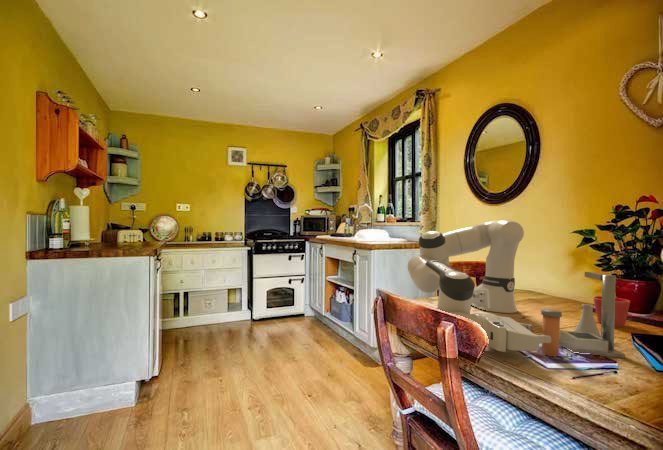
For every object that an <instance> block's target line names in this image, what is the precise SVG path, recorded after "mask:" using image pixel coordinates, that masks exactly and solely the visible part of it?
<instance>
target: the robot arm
mask: <svg viewBox="0 0 663 450" xmlns="http://www.w3.org/2000/svg"><path fill="white" fill-rule="evenodd" d="M524 235H525V231H524V228H523V227H522V225H521V224H520V223H519V222H517V221H515V220H512V219H496V220H493V219H492V220H490V221H484V222H482V223H479V224H475V225H472V226H468V227H464V228H462V227H461V228H459V229H455V230H454V229H453V230H451V231H446V232H443V233H442V232H441V231H440V232H439V231H436V230H431V231H429V230H428V231H426V232H425V231H424V233H421V235H420V236H419V238H418V246H419V254H417V255H414V256H412V257H411V258H410V259H409V261H408V263H407V272H408V275H409V276H410V279H411V281H412V282H413V284H414V285H415V287H416V288H417V289H418V290H419V291H421V292H422V293H423V292H424V293H426V294H428V293H429V294H430V293H435V292H437V291H438V298H437V299H438V301H437V307H436V310H437V309H440V310H442V311H445V312H448V313H452V314H456V315H460V316H463V317H465V318H468V319H471V320H473V321H475V322H477V323H478V324H480V325H481V327H482V328H483V329H484V330H485V331H486V333H487V336H488V339H489V344H488V348H491V349H493V350H495V351H498V352H502V353H504V352H507V351H506V350H509V351H513V352H514V351H515V352H516V351H517V352H536V351H538V350H539V349H540V345H542V343H551V337H550V336H549V335H544V334H542V333H541V334H535V333H534V332H535V328H536V327H535V326H534V325H533V324H527V323H523V322H517V321H516V320H515V319H513V318H512V317H508V316H499V315H498V316H497V315H496V314H494V313H479V312H475V313H471V310H472V306H474V307H473V308H475V307H477V308H476V309H478V308H479V309H478V310H480V309H482V310H481V311H483V310H486V311H487V312H495V313H502V314H503V313H507V314H509V313H510V314H511V313H512V314H513V313H517V312H518V309H517V305H516V299H515V290H514V289H515V285H516V279H515V277H514V276H515V274H514V273H515V259H516V256H517V255H516V254H517V252H518V247H519V244H520V243H521V241H522V240H523V238H524ZM486 248H489V251H488V254H487V256H486V258H485V275H484V276H482V277H480V280H482V281H481V284H479V285H477V286H476V284H475V280H473V279H472V278H471V276H470V275H468V274H467V273H465V272H462V271H460V270H457V269H456V268H454V267H452V266H451V265H450V257H455V256H461V255H465V254H471V253H474V252H479V251H481V250H482V249H486ZM471 305H472V306H471ZM486 311H485V312H486Z"/></svg>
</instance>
